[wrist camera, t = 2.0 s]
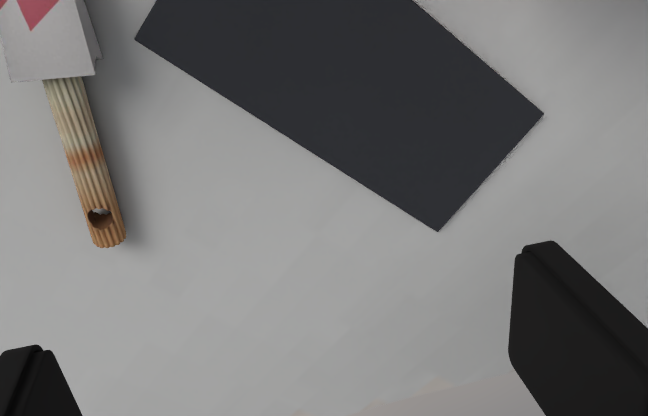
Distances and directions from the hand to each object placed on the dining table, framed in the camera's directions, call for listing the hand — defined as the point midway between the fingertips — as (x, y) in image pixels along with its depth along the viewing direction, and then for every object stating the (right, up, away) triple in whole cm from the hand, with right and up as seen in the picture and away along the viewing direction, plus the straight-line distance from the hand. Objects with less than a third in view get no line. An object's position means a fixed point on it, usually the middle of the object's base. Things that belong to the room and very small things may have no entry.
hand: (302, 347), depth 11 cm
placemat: (+2, +10, +20) cm, 23 cm away
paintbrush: (-13, +10, +17) cm, 24 cm away
